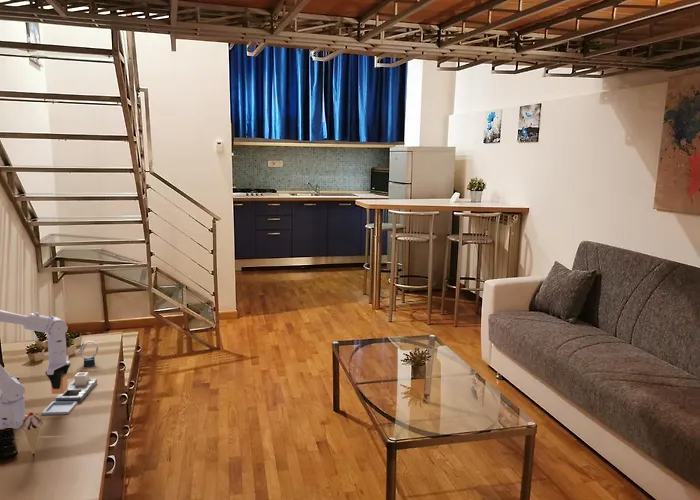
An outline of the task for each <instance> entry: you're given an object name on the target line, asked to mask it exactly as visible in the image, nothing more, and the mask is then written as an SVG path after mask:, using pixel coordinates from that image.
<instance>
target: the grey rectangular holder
mask: <svg viewBox="0 0 700 500" xmlns="http://www.w3.org/2000/svg"><path fill="white" fill-rule="evenodd" d="M67 384H68V383H67ZM97 385H98V378H96V377H95V378H89V382H88V384H87V385H75V379H74V378H73V379H72V380H71V381H70V382H69V384H68V389H67V390H66V391H65V393H64V394H57V395H56V397H55V401H78V403H82V401H83V400H85V398H87V396H88V395H89V393H90V392H91V391H92V390H93V389H94V388H95V387H96V386H97Z"/></svg>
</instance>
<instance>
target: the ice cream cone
mask: <svg viewBox="0 0 700 500" xmlns="http://www.w3.org/2000/svg"><path fill="white" fill-rule="evenodd" d="M26 415H27V416H25V418H24V420H23V423H22V424H21V426H20V428H21V429H23V431H24V433H25V435H26V439H27V442H28V445H29V448H30V451H31V454H32V458H35V455H36V447H37V444H38V438H39V432H40V427H41V426H42V425H43V423H44V422H43V420H42V419H41V416H40V415H38V413H35V412H29V413H28V414H26Z"/></svg>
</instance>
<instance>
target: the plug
mask: <svg viewBox="0 0 700 500" xmlns="http://www.w3.org/2000/svg"><path fill="white" fill-rule="evenodd" d="M50 385H51V388H50V389H51V395H54V394H55V395H59V394H64V393H65V391H66V390H67V389H68V373H67V374H62V377H61V385H60V388H59V389H53V387H52V384H51V383H50Z"/></svg>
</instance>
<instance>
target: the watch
mask: <svg viewBox="0 0 700 500" xmlns="http://www.w3.org/2000/svg"><path fill="white" fill-rule="evenodd" d="M88 344H94V345H95V346H96V349H95V351H94V353H93V354H92V355H87V356H85V355H83V354H82V353H83V352H84V351H85V349H86V347H87V345H88ZM98 351H99V345H98V343H97V342H96V341H94V340H92V339H91V340H86V341H83V342H82V343H81V344H80V347H79V349H78V353H79V356H80V357H81V358H83V368H89V367H95V366H96V365H95V364H96V362H95V361H96V360H95V357H96V355H97V354H98Z"/></svg>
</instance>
